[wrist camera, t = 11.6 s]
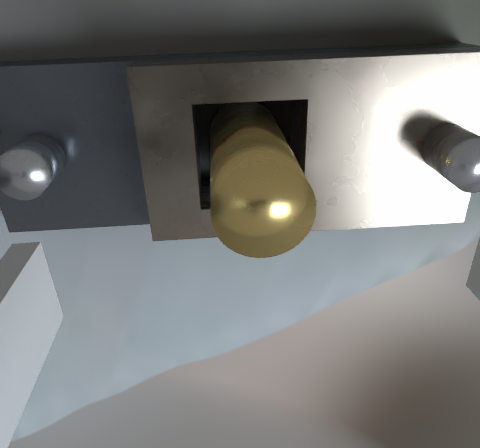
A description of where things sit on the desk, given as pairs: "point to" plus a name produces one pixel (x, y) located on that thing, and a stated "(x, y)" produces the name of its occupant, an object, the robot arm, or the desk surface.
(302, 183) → the brass pin
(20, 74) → the door bolt
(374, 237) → the desk surface
